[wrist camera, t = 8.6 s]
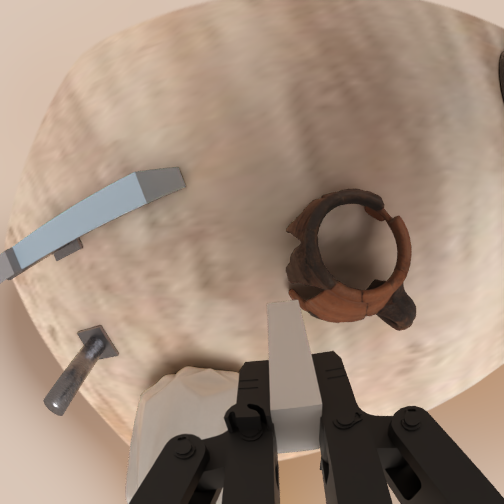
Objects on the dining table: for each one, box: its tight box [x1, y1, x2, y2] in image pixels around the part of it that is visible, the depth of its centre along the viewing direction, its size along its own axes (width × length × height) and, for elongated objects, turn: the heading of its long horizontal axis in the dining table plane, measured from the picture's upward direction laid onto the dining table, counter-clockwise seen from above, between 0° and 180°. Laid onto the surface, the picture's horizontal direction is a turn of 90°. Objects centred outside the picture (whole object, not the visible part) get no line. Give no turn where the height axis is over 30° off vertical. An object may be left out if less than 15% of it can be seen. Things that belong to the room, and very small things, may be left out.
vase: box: [125, 366, 239, 504], centre depth 20 cm, size 14×14×15 cm
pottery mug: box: [286, 189, 416, 331], centre depth 20 cm, size 12×10×8 cm
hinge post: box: [8, 237, 83, 280], centre depth 18 cm, size 4×4×8 cm
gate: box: [0, 167, 186, 283], centre depth 16 cm, size 14×2×9 cm, turn 110°
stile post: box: [44, 325, 119, 416], centre depth 20 cm, size 4×4×10 cm
